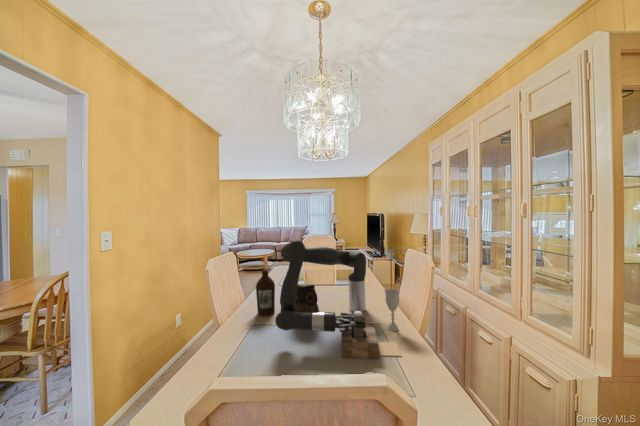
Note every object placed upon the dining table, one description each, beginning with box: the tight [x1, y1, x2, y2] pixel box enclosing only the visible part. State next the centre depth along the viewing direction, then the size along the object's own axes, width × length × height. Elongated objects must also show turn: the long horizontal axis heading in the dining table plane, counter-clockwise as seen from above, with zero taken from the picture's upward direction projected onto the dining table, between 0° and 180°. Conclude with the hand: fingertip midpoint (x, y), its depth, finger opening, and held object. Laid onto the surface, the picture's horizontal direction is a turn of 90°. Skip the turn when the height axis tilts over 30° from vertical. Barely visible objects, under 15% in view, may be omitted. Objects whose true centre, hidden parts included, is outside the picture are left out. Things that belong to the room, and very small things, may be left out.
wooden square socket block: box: [340, 326, 379, 360], centre depth 107 cm, size 14×14×6 cm
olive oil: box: [255, 268, 276, 317], centre depth 148 cm, size 11×11×25 cm
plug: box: [352, 311, 364, 338], centre depth 106 cm, size 4×4×15 cm
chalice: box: [384, 288, 400, 332], centre depth 124 cm, size 7×7×18 cm
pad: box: [378, 341, 402, 358], centre depth 105 cm, size 10×8×1 cm
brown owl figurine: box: [295, 283, 320, 313], centre depth 135 cm, size 13×13×20 cm
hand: (364, 322), depth 106 cm, fingers open, 4 cm apart
